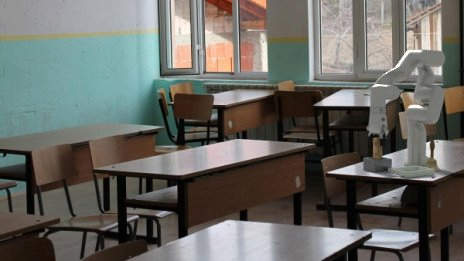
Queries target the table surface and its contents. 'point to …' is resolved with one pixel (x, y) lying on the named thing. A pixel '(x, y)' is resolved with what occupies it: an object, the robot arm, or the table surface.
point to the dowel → (377, 149)
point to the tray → (408, 172)
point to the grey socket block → (377, 164)
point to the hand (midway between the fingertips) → (377, 145)
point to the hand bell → (432, 158)
